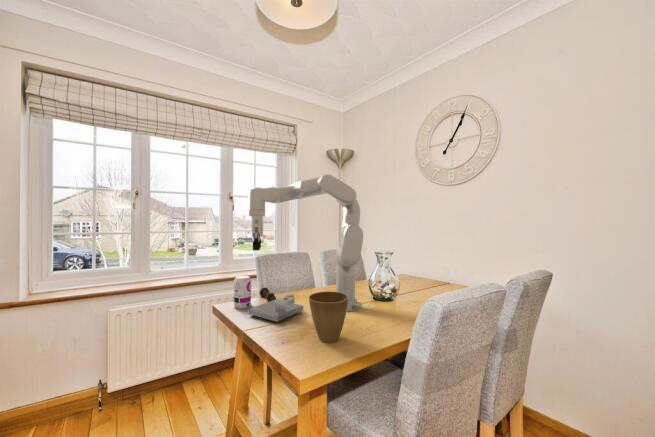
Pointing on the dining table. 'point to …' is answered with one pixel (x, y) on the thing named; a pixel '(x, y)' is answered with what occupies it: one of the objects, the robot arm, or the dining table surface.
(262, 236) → the robot arm
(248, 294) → the supplement can
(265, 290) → the bolt
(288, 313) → the grey mounting base
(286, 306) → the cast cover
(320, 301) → the plant pot
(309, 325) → the dining table surface
